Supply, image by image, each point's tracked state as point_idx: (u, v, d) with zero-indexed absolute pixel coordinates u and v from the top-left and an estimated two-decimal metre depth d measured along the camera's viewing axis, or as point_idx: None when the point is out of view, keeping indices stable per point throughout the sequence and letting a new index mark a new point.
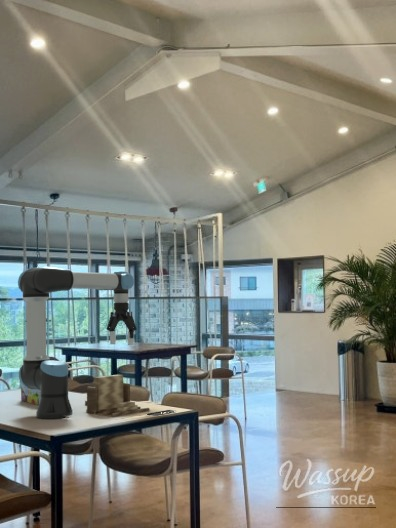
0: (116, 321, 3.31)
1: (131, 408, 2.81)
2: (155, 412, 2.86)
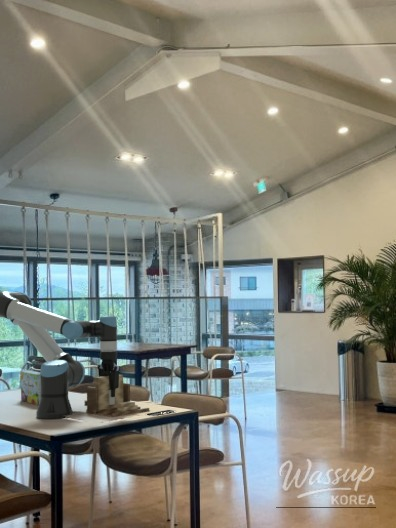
0: (106, 373, 2.92)
1: (131, 408, 2.81)
2: (155, 412, 2.86)
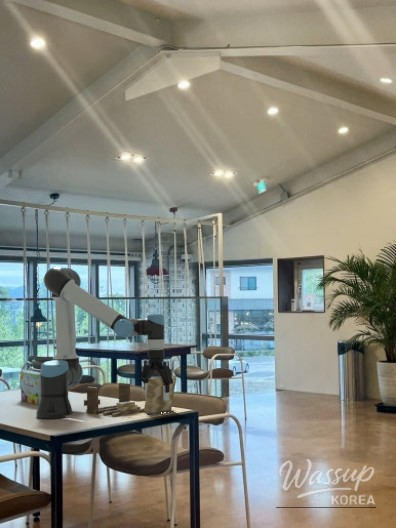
0: (151, 371, 2.91)
1: (131, 408, 2.81)
2: None
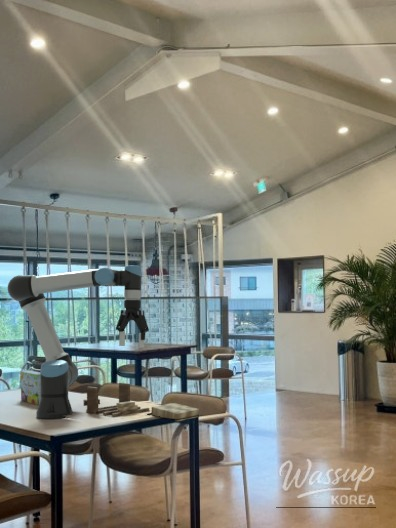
0: (126, 320, 2.98)
1: (131, 408, 2.81)
2: None
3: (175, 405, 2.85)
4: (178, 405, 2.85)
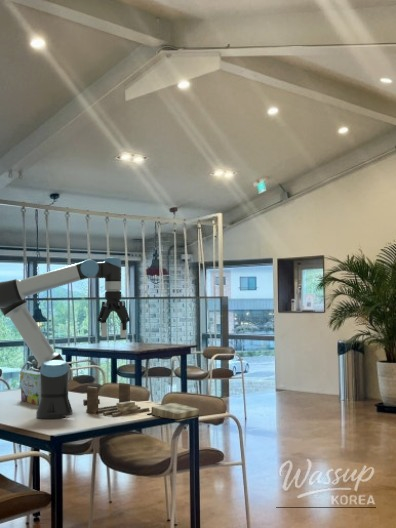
0: (108, 312, 3.03)
1: (131, 408, 2.81)
2: None
3: (175, 405, 2.85)
4: (178, 405, 2.85)
